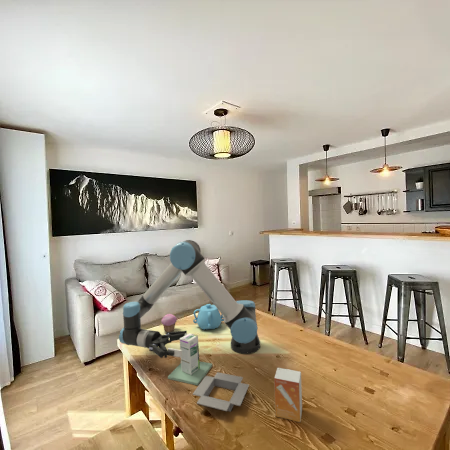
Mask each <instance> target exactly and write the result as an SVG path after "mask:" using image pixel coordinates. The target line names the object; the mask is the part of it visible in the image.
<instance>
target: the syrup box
mask: <svg viewBox="0 0 450 450" xmlns="http://www.w3.org/2000/svg"><path fill="white" fill-rule="evenodd" d="M197 335H198V334H194V333H190V332H189V333H187V335H185V336H183V337H182V338H180V340H179V350H182V356H183V357H182V358H181V357H180V363H181V369H182V371H183V372H185V373H187V374H189V375H192V374H193V373H194V372H195V371H197V370H198V369H200V362H199V361H200V353H199V352H200V347H199V336H197Z"/></svg>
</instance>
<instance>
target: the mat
mask: <svg viewBox="0 0 450 450" xmlns="http://www.w3.org/2000/svg"><path fill="white" fill-rule="evenodd" d="M199 362H200V369H198V370H197V371H195V372H194V373H193V374H192V375H189V374H187V373H185V372H183V371H182V369H181V362H180V363H179V364H178V365H177V366H176V368H175V369H173V370H172V371H171V372H170V373H169V374H168V375H167V380H170V381H176V382H179V383H184V384H188V385H194V386H197V387H198V386H199V384H200V383H201V382H202V380H203V379H204V378H205V376H207V374H208V372H209V371H210V370H211V368H212V367H213V363H212V362H205V361H200V360H199Z"/></svg>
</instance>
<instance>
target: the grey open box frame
mask: <svg viewBox="0 0 450 450" xmlns="http://www.w3.org/2000/svg"><path fill="white" fill-rule="evenodd" d="M243 379H244V377H243V376H240V375H234V374H227V373H224V372H223V373H222V372H216V373H215V375H214V376H209V375H205V377H204V378H203V379H202V381H201V382H200V383H199V385H198V386H197V387H196V389H195V390H194V392H193V393H192V395H193V396H197V397H199V398H198V400H197V402H196V405H201V406H204V407H208V408H213V409H216V410H221V411H224V412H230V413H231V411H232V410H233V408H234V406H238V407H241V406H242V403H243V401H244V398H245V397H246V393H247V392H248V389H249V386H250V384H248V383H243V382H242V381H243ZM214 387H219V388H223V389H227V390H233V393H232V396H231V397H230V399H229V401H228V400H223V399H220V398H215V397H212V396H210V394H211V392H212V391H213V390H214Z"/></svg>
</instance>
